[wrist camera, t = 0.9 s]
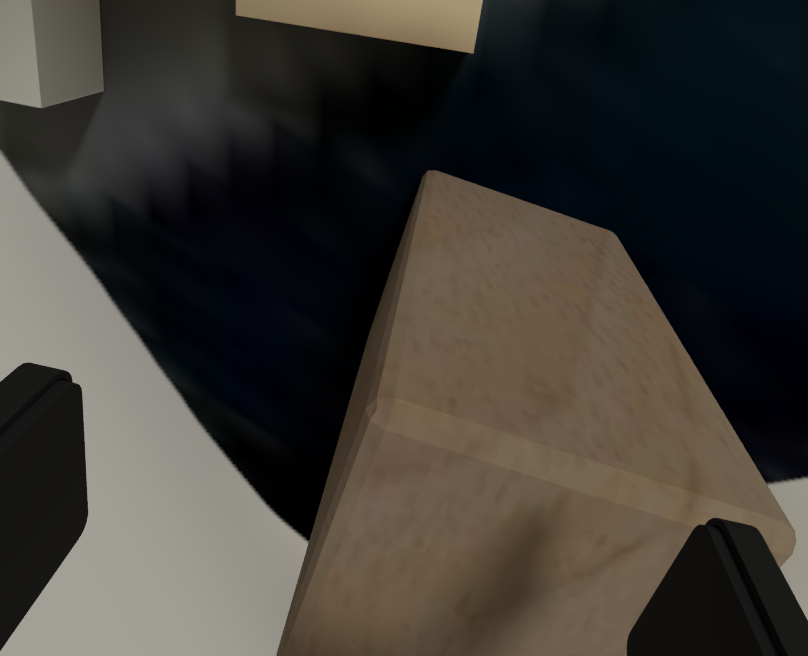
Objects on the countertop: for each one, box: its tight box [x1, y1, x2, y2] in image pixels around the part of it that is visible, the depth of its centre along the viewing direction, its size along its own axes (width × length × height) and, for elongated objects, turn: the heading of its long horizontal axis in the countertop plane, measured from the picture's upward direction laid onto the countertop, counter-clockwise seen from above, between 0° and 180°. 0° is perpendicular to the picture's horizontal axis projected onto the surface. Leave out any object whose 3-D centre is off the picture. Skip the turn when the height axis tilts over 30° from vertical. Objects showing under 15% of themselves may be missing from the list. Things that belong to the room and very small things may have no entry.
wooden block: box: [277, 170, 796, 656], centre depth 24 cm, size 10×10×20 cm
